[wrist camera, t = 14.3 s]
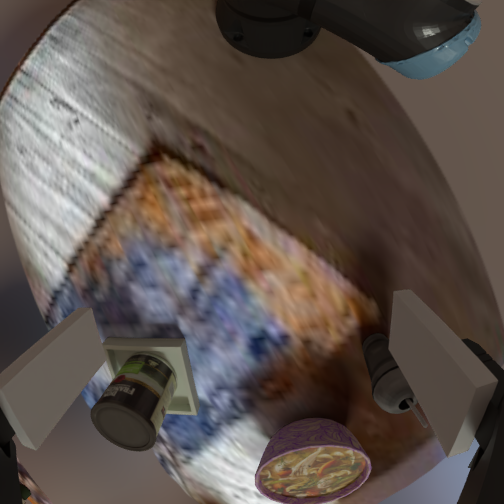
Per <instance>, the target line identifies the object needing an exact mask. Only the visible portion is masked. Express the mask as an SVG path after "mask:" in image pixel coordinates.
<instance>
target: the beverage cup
mask: <svg viewBox="0 0 504 504" xmlns="http://www.w3.org/2000/svg"><path fill="white" fill-rule="evenodd" d="M388 348H389V339H388V338H386V336H385V335H383V334H380V333H377V334H373V335H370V336H369V337H368V338H367V339H366V340H365V341H364V343H363V347H362V349H363V352H364V353H363V354H364V357H365V361H366V364H367V368H368V371H369V375H370V378H371V382H372V383H371V385H372V395H373V399H374V400H375V401H376V402H377V404H378V405H379V406H380V407H381V408H382V409H383V410H385V411H387V412H389V413H396V414H398V413H403V412H406V411H408V410H410V409H412V410H413V412H414V413H415V415H416V416H417V418H418V419H419V421H420V422H421V424H422V425H423V427H424V428H426V427H427V426H428V425H427V423H426V422H425V420H424V419H423V417H422V416H421V415H420V413H419V412H418V410H417V409H416V407H415V405H416V404H417V402H418V400H417V398H416V396H415V395H414V393H413V391H412V389H411V387H410V386H409V384H408V382H407V380H406V378H405V377H404V375H403V373H402V371H401V370H400V368H399V366H398V364H397V363H396V361H395V359H394V357H393V356H392V354H391V352H390V351H389V349H388Z"/></svg>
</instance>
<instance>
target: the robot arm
mask: <svg viewBox="0 0 504 504" xmlns="http://www.w3.org/2000/svg"><path fill="white" fill-rule="evenodd" d="M481 3H482V0H218V2H217V5H216V20H217V23H218V26H219V29H220V31H221V33H222V35H223V37H224V38H225V39H226V40H227V42H228V43H229V44H231V45H232V46H233V47H234V48H236V49H237V50H239V51H241V52H243V53H245V54H248V55H251V56H254V57H259V58H270V59H272V58H283V57H287V56H291V55H294V54H296V53H299V52H301V51H302V50H304V49H305V48H307V47H308V46H309V45H310V44H311V43H312V42H313V41H314V40H315V39H316V37H317V36H318V34H319V32H320V29H321V27H322V28H324V29H326V30H328V31H330V32H332V33H334V34H335V35H337V36H339V37H341V38H343V39H345V40H346V41H348V42H350V43H352V44H354V45H355V46H357V47H359V48H361V49H362V50H364V51H365V52H367V53H369V54H370V55H372V56H374V57H375V59H376V60H377V61H378V62H379V63H381V64H384V65H387V66H390V67H391V68H393V69H394V70H396V71H397V72H399V73H401V74H402V75H404V76H406V77H408V78H411V79H418V80H421V79H427V78H430V77H433V76H435V75H437V74H439V73H441V72H443V71H445V70H446V69H447V68H449V67H450V66H452V65H453V64H454V63H455V62H456V61H457V60H459V59H460V58H461V57H462V56H463V55H464V54H465V53H466V52H467V50H468V46H469V45H470V44H472V43H473V42H474V41H475V40H476V38H477V36H478V34H479V32H480V29H481V20H480V17H479V15H478V14H477V11H476V10H475V9H476V8H477V7H478V6H479V5H480V4H481ZM388 349H389V351H390V352H391V354H392V356H393V357H394V359H395V361H396V363H397V364H398V366H399V368H400V370H401V371H402V373H403V375H404V377H405V378H406V380H407V382H408V384H409V386H410V387H411V389H412V391H413V393H414V395H415V396H416V398H417V400H418V402H419V404H420V406H421V407H422V409H423V411H424V413H425V415H426V417H427V419H428V421H429V423H430V424H431V426H432V428H433V430H434V432H435V434H436V436H437V438H438V440H439V442H440V444H441V446H442V448H443V450H444V452H445V454H446V456H447V457H451V456H454V455H457V454H460V453H463V452H466V451H468V450H469V448H470V446H471V444H472V442H473V440H474V438H476V440H477V442H478V443H479V445H480V446H479V448H478V450H477V452H476V453H475V455H474V457H473V459H472V461H471V462H470V464H469V466H468V468H471V469H470V472H469V474H468V477H467V480H466V483H465V485H464V488H463V490H462V493H461V495H460V497H459V500H458V502H457V504H504V370H503V369H502V368H501V367H500V366H499V365H498V364H497V363H496V362H495V361H494V360H492V357H491V356H490V355H489V354H486V351H485V350H484V349H483V348H482V347H481V346H480V345H479V344H477V343H475V342H473V341H471V340H469V339H463V340H461V339H460V338H459V337H458V336H457V335H456V334H455V333H454V332H453V331H452V330H451V329H450V328H449V327H448V326H447V325H446V324H445V323H444V322H443V321H442V320H441V319H440V318H439V317H438V316H437V315H436V314H435V313H434V312H433V311H432V310H431V309H430V308H429V307H428V306H427V305H426V304H425V303H424V302H423V301H422V300H421V299H420V298H419V297H418V296H417V295H416V294H415V293H413V292H412V291H411V290H410V289H409V290H400V291H394V295H393V308H392V320H391V330H390V339H389V348H388ZM106 360H107V358H106V355H105V352H104V349H103V345H102V342H101V339H100V336H99V332H98V329H97V326H96V322H95V318H94V315H93V311H92V308H78V309H77V310H75V311H74V312H73V313H72V314H70V315H69V316H68V317H67V318H65V319H64V320H63V321H62V322H61V323H59V324H58V325H57V326H56V327H54V328H53V329H52V330H51V331H50V332H48V333H47V334H46V335H45V336H44V337H43V338H41V339H40V340H39V341H38V342H36V343H35V344H34V345H33V346H32V347H31V348H29V349H28V350H27V351H26V352H25V353H24V354H22V355H21V356H20V357H19V358H18V359H17V360H15V361H14V362H13V363H12V364H11V365H10V366H9V367H8V368H7V369H5V370H4V371H3V372H2V373H1V374H0V504H23V503H22V497H21V490H20V483H19V476H18V467H17V457H16V446H15V443H14V441H13V440H12V437H13V436H14V434H16V435H17V437H18V438H19V440H20V441H21V443H22V444H23V445H24V446H26V447H29V448H31V449H34V450H38V448H39V447H40V445H41V444H42V443H43V441H44V440H45V439H46V437H47V436H48V435H49V433H50V432H51V431H52V429H53V428H54V427H55V425H56V424H57V422H58V421H59V420H60V418H61V417H62V416H63V415H64V413H65V412H66V411H67V409H68V408H69V407H70V405H71V404H72V403H73V401H74V400H75V399H76V398H77V396H78V395H79V394H80V392H81V391H82V390H83V389H84V387H85V386H86V385H87V384H88V382H89V381H90V380H91V378H92V377H93V376H94V375H95V373H96V372H97V371H98V370H99V368H100V367H101V366H102V365H103V363H104V362H105V361H106Z"/></svg>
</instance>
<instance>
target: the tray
mask: <svg viewBox="0 0 504 504" xmlns="http://www.w3.org/2000/svg"><path fill="white" fill-rule="evenodd" d="M102 345H103V349H104V352H105V355H106V358H107V360H106V361H107V364H108V367H109V370H110V373H111V376H112V379H114V378H115V376H116V375H117V373H118V372H119V370H120V369H121V368H122V366H123V365H124V363H125V361H126V360H127V358H128V357H129V356H131V355H132V354H134V353H138V352H147V353H152V354H155V355H157V356H159V357H161V358H163V359H164V360H165V361H167V362H168V363H169V364H170V365H171V367H172V368H173V369H174V371H175V373H176V375H177V378H178V386H177V389H176V391H175V393H174V395H173V398H172V400H171V402H170V405H169V407H168V410H167V412H166V413H167V414H184V415H197V413H198V410H199V407H200V404H199V399H198V395H197V391H196V387H195V383H194V378H193V374H192V369H191V365H190V360H189V356H188V351H187V346H186V341H185V338H115V337H108V338H107V339H106V340H105V341H104V342H103V343H102Z"/></svg>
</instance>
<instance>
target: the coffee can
mask: <svg viewBox="0 0 504 504" xmlns="http://www.w3.org/2000/svg"><path fill="white" fill-rule="evenodd" d="M177 386H178V378H177V375H176V373H175V371H174V369H173V368H172V367H171V365H170V364H169V363H168V362H167V361H165V360H164V359H163V358H161V357H159V356H157V355H155V354H152V353H147V352H138V353H134V354H132V355H131V356H129V357H128V358H127V360H126V361H125V363H124V365H123V366H122V368H121V369H120V370H119V372H118V373H117V375H116V376H115V378H114V379H113V380H112V382H111V383H110V385H109V386H108V388H107V389H106V390H105V392H104V393H103V395H102V396H101V398H100V399H99V400H98V402H97V403H96V404H95V405H94V406H93V408H92V410H91V419H92V422H93V424H94V426H95V427H96V429H97V430H98V431H99V433H100V434H101V435H102V436H103V437H105V438H106V439H107V440H109V441H110V442H111V443H113V444H115V445H117V446H119V447H121V448H124V449H127V450H131V451H146V450H149V449H151V448H152V447H153V446H154V444H155V442H156V437H157V434H158V432H159V429H160V427H161V424H162V422H163V420H164V417H165V415H166V412H167V410H168V407H169V405H170V402H171V400H172V398H173V395H174V393H175V391H176V389H177Z"/></svg>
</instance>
